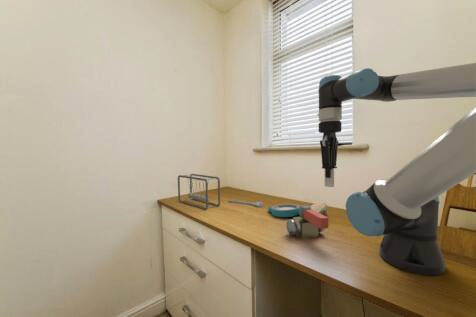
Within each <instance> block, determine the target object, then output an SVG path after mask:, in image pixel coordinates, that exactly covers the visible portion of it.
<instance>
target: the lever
mask: <svg viewBox="0 0 476 317" xmlns="http://www.w3.org/2000/svg"><path fill="white" fill-rule="evenodd" d="M299 206H300V214H299V217H300V218H303V219H306V220H307V221H309V222H311V223H312V224H314V225H315V226H317V227H319V228H320V229H324V228H325V229H328V228H329V217H328V216H327V215H322V214H320V213H318V212H316V211H314V210H312V209H311V207H310V206H311V205H309V206H307V205H299ZM325 229H324V230H325Z"/></svg>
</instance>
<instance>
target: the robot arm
mask: <svg viewBox="0 0 476 317" xmlns="http://www.w3.org/2000/svg"><path fill="white" fill-rule="evenodd" d="M317 92H318V113H317V117H318V121H319V122H318V133H319V134H322V138H321V139H320V140H319V145H320V151H321V153H320V154H321V169H324V187H327V188H334V186H335V169H337V168H338V166H337V160H338V158H337V156H338V146H339V140H338V138H337V133H341V131H342V121H341V120H342V119H343V117H342V114H343V111H342V109H343V108H342V105H343V104H342V102H343V103H344V102H347V101H350V100H363V101H365V100H366V101H378V102H379V101H381V102H395V101H405V100H425V99H426V100H430V99H431V100H432V99H453V98H456V99H457V98H475V97H476V62H472V63H466V64H465V63H464V64H459V65H453V66H447V67H440V68H433V69H428V70H421V71H414V72H413V71H412V72H409V73H408V72H407V73H401V74H395V75H389V76H387V75H386V76H384V75H378V74H377V72H376V71H374V69H373V68H363V69H360V70H359V69H358V70H356V71H354V72H352V73H350V74H347V75H346V76H343V77H342V76H341V75H338V74H331V75H327V76H323V77H321V78H320V79H319V83H318V91H317ZM475 174H476V106H475V107H473V108H472V109H471V110H469V112H467V113H466V114H465V115H464V116H463V117H461V118H460V119H459V120H458V121H457V122H455V123H454V124H453V125H452V126H450V127H449V128H448V129H447V130H446V131H444V132H443V133H442V134H441V135H440V136H439V137H438V138H436V139H435V140H434V141H433V142H431V143H430V144H429V145H428V146H427V147H425V148H424V149H423V150H422V151H421V152H419V153H418V154H417V155H416V156H415V157H413V158H412V159H411V160H410V161H409V162H407V163H406V164H405V165H404V166H403V167H401V169H399V170H398V171H397V172H396V173H395V174H393V175H392V176H391V177H390V178H389V179H387V178H385V179H384V178H381V179H377V180H376V181H375V182H374V183H372V185H370V186H369V187H368V188H367V189H366V190H364V191H362V192H361V191H357V192H354V193H352V194H349V196H348V198H347V199H346V202H345V209H346V210H345V211H346V212H345V213H346V216H347V219H348V221H349V223H350V224H351V225H352V227H353V228H354V229H355V231H357V232H358V233H359V234H362V235H363V236H366V237H378V238H379V237H381V236H383V237H382V239H381V243H380V244H379V247H378V248H379V249H378V250H379V252H378V253H379V256H380V258H381V259H382V260H384V261H385V262H387V264H389V265H391V266H393V267H395V268H398V269H400V270H403V271H406V272H409V273H413V274H417V275H423V276H441V275H443V274H444V273H445V270H446V262H445V259H444V257H443V253H442V251H441V249H440V246H439V243H438V228H439V227H438V226H439V206H440V200H439V196H441V195H443V194H444V193H445V192H448V191H449V190H450V189H452V188H453V187H455V186H457V185H458V184H461V183H462V182H464V181H465V180H466V179H469V178H470V177H472V176H474V175H475Z"/></svg>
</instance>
